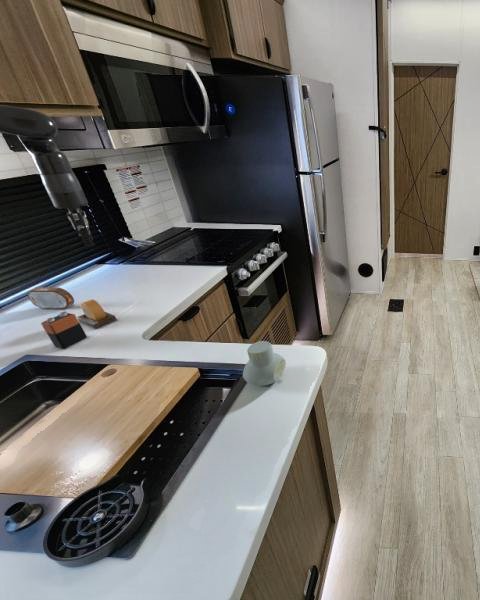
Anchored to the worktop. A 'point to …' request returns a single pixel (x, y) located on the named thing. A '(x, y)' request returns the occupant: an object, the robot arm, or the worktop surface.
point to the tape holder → (98, 324)
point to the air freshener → (263, 364)
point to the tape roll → (93, 310)
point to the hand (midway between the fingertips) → (89, 243)
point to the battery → (64, 330)
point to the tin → (50, 298)
